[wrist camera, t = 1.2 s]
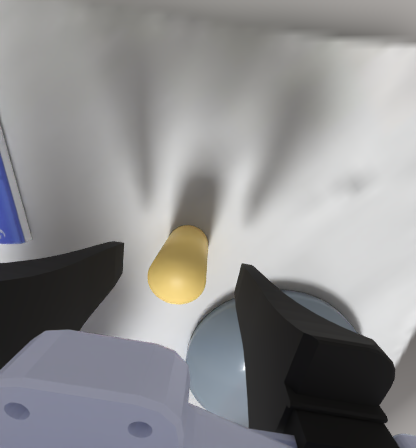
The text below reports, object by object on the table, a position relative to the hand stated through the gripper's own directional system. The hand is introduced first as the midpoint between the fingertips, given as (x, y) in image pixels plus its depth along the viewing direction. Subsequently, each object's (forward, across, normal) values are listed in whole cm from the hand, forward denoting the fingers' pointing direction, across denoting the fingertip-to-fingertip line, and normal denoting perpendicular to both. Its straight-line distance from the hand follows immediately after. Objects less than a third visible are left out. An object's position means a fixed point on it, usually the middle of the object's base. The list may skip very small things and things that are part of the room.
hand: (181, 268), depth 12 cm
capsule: (+4, 0, 0) cm, 4 cm away
